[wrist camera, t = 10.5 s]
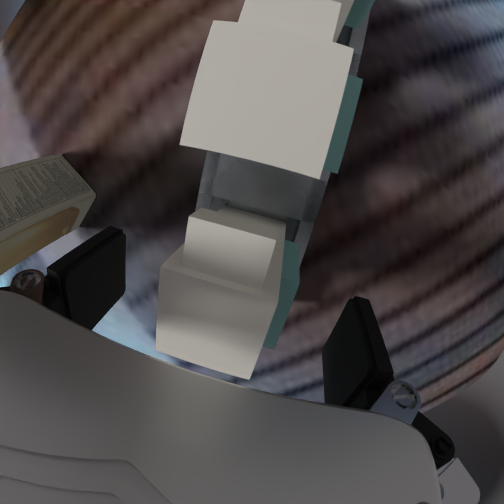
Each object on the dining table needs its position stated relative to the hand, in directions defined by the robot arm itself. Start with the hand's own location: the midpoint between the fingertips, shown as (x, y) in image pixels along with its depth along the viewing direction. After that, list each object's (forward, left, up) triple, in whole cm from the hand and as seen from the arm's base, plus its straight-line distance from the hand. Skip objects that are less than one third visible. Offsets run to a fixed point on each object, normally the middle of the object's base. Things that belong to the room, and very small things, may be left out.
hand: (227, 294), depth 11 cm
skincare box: (+1, -17, -10) cm, 20 cm away
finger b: (-7, 0, -8) cm, 10 cm away
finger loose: (+1, 0, -8) cm, 8 cm away
